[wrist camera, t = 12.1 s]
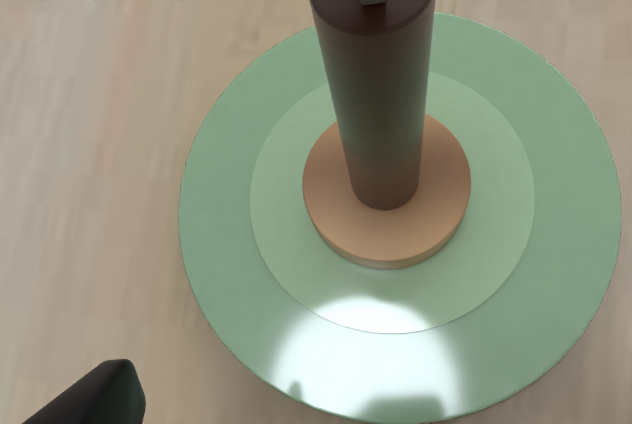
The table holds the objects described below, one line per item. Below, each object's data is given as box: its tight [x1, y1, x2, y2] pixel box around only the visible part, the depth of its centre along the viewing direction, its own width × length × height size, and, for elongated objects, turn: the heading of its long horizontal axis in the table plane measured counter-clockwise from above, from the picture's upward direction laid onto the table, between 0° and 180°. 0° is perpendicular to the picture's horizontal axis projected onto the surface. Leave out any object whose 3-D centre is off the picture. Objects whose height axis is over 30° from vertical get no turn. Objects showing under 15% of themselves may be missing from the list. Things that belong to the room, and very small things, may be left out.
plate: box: [178, 12, 622, 424], centre depth 18 cm, size 14×14×1 cm
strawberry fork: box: [302, 0, 471, 270], centre depth 11 cm, size 5×5×14 cm
